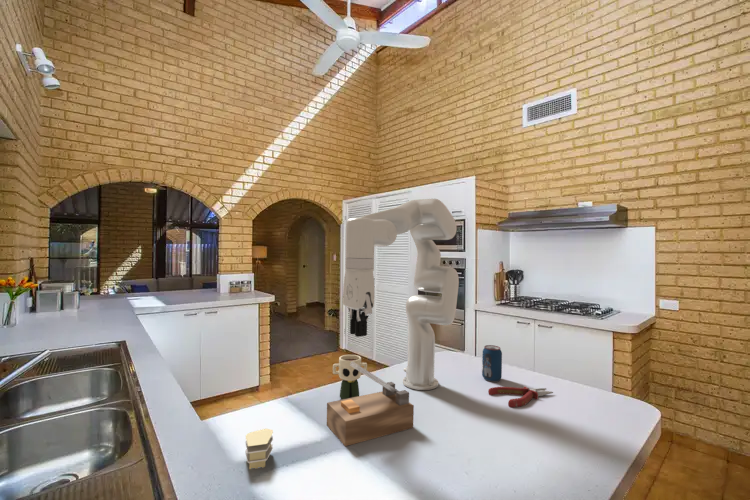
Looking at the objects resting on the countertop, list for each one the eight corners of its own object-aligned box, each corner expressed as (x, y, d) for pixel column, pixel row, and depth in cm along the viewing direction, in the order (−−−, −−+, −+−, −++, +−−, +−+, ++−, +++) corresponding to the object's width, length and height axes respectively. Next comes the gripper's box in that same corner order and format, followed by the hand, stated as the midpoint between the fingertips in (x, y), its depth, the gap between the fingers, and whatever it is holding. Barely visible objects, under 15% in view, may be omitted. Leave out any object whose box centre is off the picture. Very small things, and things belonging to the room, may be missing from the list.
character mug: (332, 404, 111) (333, 361, 111) (331, 394, 118) (332, 355, 118) (368, 402, 113) (368, 360, 113) (364, 393, 120) (365, 354, 120)
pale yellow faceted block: (280, 471, 78) (281, 445, 78) (236, 478, 75) (236, 451, 75) (278, 446, 87) (279, 423, 87) (239, 452, 85) (239, 428, 85)
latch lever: (348, 364, 97) (351, 360, 97) (391, 391, 104) (393, 387, 104) (356, 369, 93) (359, 365, 93) (400, 397, 100) (402, 393, 100)
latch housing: (326, 424, 98) (327, 391, 98) (389, 410, 108) (390, 379, 108) (345, 446, 87) (346, 408, 87) (413, 427, 97) (413, 394, 97)
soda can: (500, 377, 138) (501, 345, 138) (502, 383, 132) (503, 350, 132) (481, 375, 140) (482, 344, 140) (482, 381, 133) (483, 348, 133)
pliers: (564, 401, 118) (564, 392, 118) (511, 409, 111) (511, 401, 111) (536, 388, 129) (536, 380, 129) (486, 395, 122) (486, 386, 122)
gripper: (334, 263, 101) (333, 330, 101) (361, 266, 87) (359, 343, 87) (358, 263, 104) (357, 327, 104) (387, 266, 90) (386, 340, 90)
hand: (358, 334), depth 96 cm, fingers closed
